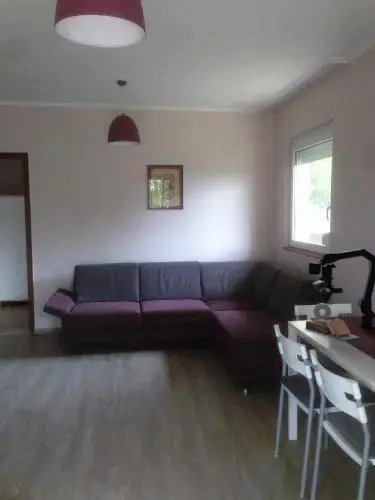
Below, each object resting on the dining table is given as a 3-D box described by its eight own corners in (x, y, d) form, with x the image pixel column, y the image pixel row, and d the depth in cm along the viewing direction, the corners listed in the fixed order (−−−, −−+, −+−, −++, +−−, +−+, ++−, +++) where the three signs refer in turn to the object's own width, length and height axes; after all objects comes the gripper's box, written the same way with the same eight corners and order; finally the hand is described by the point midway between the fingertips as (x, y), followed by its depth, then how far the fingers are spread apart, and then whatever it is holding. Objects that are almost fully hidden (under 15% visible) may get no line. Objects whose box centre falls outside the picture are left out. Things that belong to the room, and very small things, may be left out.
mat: (342, 332, 236) (342, 331, 236) (359, 338, 226) (359, 337, 226) (325, 335, 230) (325, 334, 230) (342, 340, 220) (342, 339, 220)
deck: (322, 326, 248) (322, 318, 248) (341, 332, 236) (342, 324, 236) (305, 328, 243) (306, 321, 242) (325, 335, 230) (325, 327, 230)
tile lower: (336, 320, 237) (338, 318, 235) (344, 333, 232) (346, 331, 231) (325, 321, 233) (327, 319, 231) (333, 335, 228) (335, 333, 227)
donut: (330, 320, 262) (331, 303, 261) (330, 321, 259) (331, 304, 258) (313, 318, 265) (313, 301, 264) (312, 320, 262) (313, 303, 261)
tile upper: (340, 321, 234) (342, 319, 233) (348, 335, 229) (350, 333, 228) (329, 323, 230) (331, 321, 229) (337, 336, 226) (339, 334, 224)
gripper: (304, 273, 254) (302, 301, 255) (329, 278, 238) (327, 307, 239) (318, 272, 259) (317, 299, 261) (344, 277, 243) (342, 306, 244)
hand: (325, 303), depth 251 cm, fingers closed
